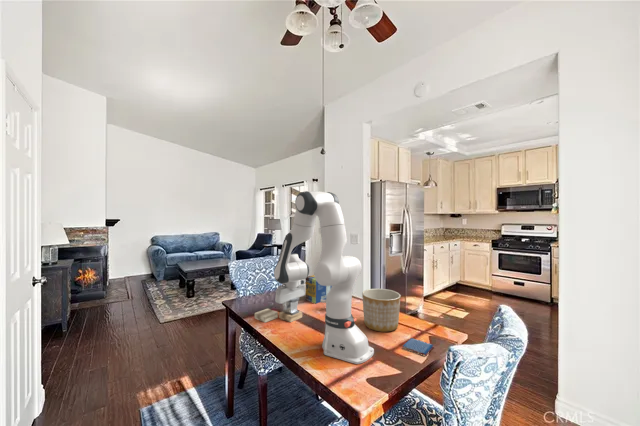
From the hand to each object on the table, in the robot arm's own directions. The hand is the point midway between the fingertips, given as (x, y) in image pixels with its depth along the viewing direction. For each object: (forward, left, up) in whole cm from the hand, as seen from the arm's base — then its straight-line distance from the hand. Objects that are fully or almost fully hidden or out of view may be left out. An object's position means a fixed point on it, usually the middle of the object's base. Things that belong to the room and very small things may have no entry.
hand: (290, 307), depth 151 cm
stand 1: (+10, +9, -6) cm, 15 cm away
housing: (0, 0, -3) cm, 3 cm away
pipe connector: (-9, -23, -6) cm, 25 cm away
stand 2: (0, 0, -6) cm, 6 cm away
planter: (-43, -23, -6) cm, 49 cm away
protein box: (+8, -34, -6) cm, 35 cm away
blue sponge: (-66, -12, -6) cm, 67 cm away
